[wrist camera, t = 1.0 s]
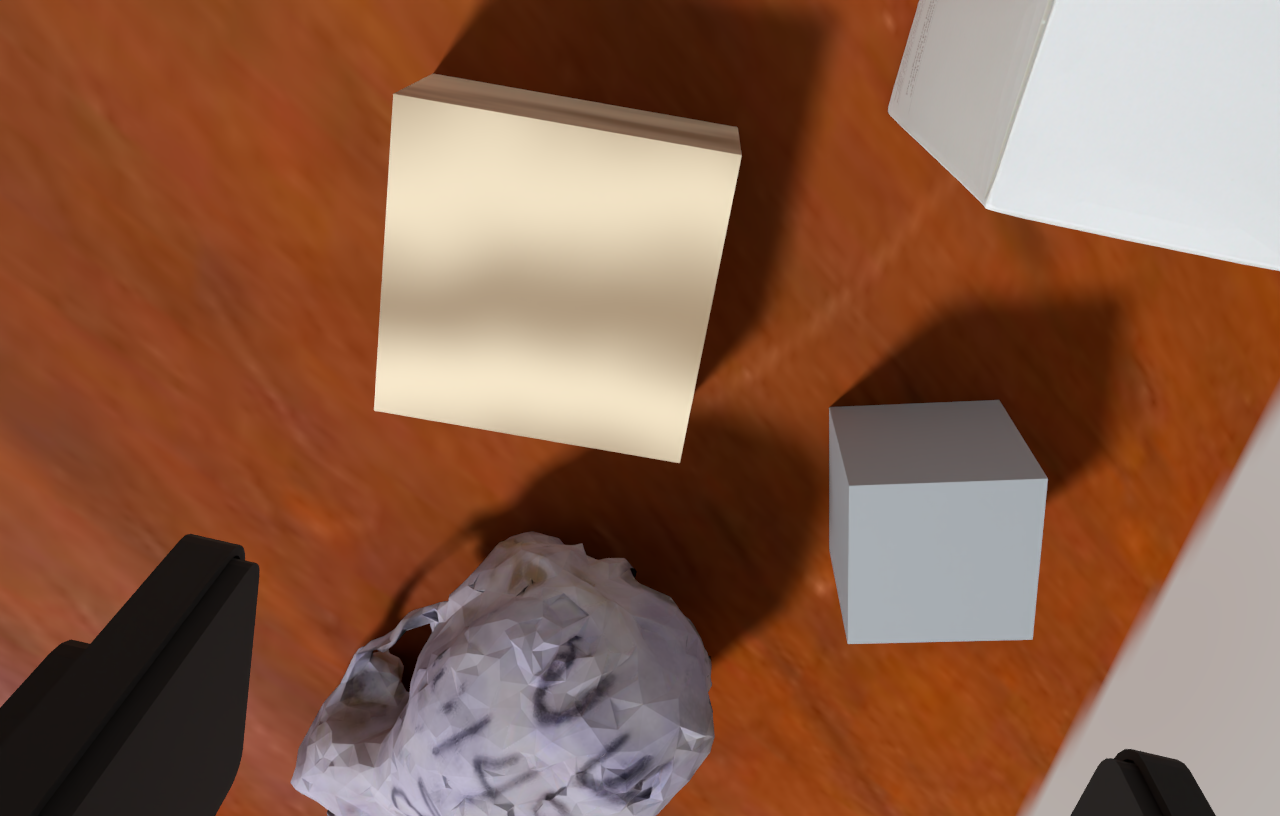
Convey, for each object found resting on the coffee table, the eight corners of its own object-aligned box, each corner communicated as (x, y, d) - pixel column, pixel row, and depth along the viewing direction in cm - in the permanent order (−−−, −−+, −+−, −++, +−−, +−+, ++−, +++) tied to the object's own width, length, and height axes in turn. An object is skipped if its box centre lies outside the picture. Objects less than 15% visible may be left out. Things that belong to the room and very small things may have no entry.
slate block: (829, 406, 38) (849, 485, 33) (998, 399, 38) (1047, 478, 32) (829, 548, 40) (847, 644, 35) (988, 542, 40) (1032, 639, 35)
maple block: (435, 72, 34) (393, 93, 30) (737, 125, 34) (741, 155, 30) (413, 353, 38) (374, 410, 34) (683, 400, 38) (679, 463, 34)
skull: (381, 781, 49) (274, 970, 40) (258, 572, 45) (110, 729, 36) (776, 706, 43) (755, 910, 34) (673, 457, 39) (618, 613, 30)
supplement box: (879, 116, 34) (969, 211, 22) (955, -139, 31) (1105, -182, 19) (1101, 166, 34) (1303, 287, 22) (1199, -82, 31) (1492, -90, 19)
